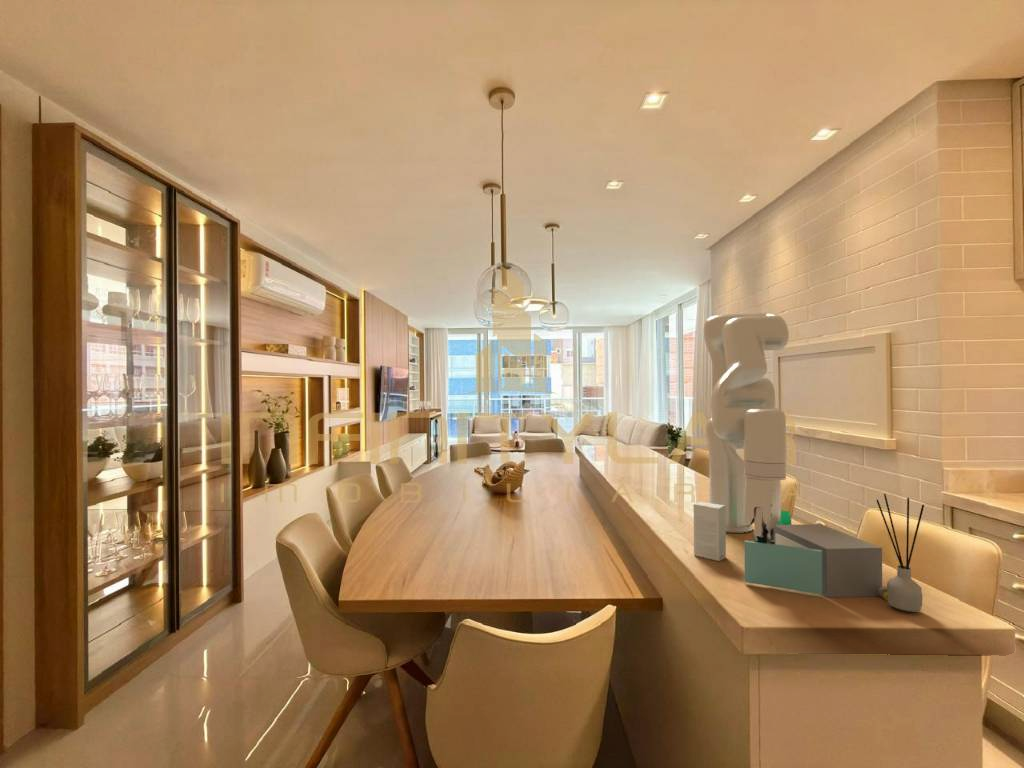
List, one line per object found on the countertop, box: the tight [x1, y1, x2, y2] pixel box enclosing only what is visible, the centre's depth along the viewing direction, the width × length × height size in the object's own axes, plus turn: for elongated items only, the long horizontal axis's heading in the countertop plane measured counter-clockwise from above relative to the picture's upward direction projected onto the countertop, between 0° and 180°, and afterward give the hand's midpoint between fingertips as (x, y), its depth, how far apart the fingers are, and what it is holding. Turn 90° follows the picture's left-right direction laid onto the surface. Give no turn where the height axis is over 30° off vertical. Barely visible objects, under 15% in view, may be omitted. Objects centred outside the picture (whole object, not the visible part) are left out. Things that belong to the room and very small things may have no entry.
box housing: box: [774, 523, 883, 598], centre depth 98 cm, size 16×11×9 cm
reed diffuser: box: [876, 493, 925, 613], centre depth 85 cm, size 10×7×20 cm
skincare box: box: [692, 501, 727, 562], centre depth 111 cm, size 6×4×12 cm
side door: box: [744, 539, 823, 596], centre depth 93 cm, size 13×1×8 cm, turn 63°
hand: (764, 560), depth 97 cm, fingers closed
